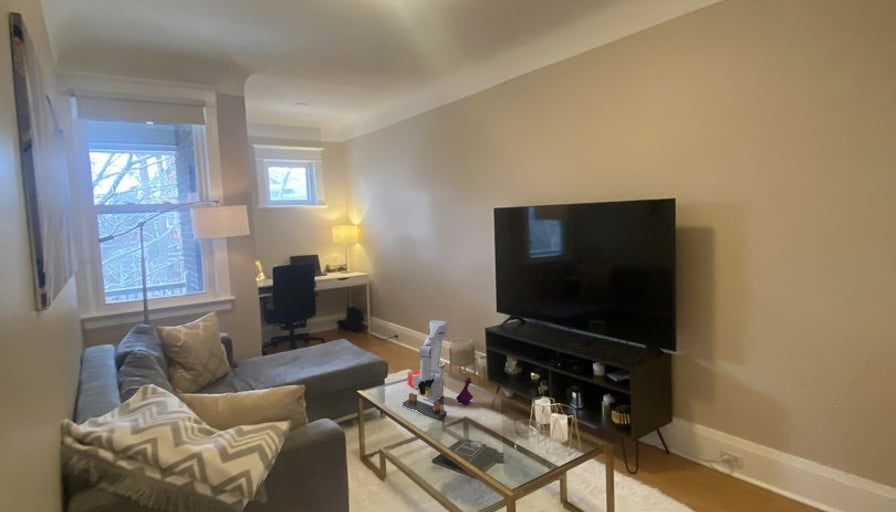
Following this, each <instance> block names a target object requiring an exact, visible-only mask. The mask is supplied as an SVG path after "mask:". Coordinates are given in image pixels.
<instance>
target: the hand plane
mask: <svg viewBox="0 0 896 512" xmlns="http://www.w3.org/2000/svg"><path fill="white" fill-rule="evenodd" d="M403 406H405V407H407V408H410V409H414V410H417V411H418V412H420V413H422V414H423V415H422V414H421V415H422V416H425V417H427V416H428V418H430V419H433V420H436V421H441V420H442V419H444V418H446V417H447V415H448V414H447V413H448V412H447V410H444V409H441V403H440V402H433V405H431V404H428V403H425V402H422V401H421V400H418V394H415V393H413V392H410V393H409V394H408V399H406V400H405V401H403V402H402V407H403ZM407 408H406V409H407ZM420 413H419V414H420Z"/></svg>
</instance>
